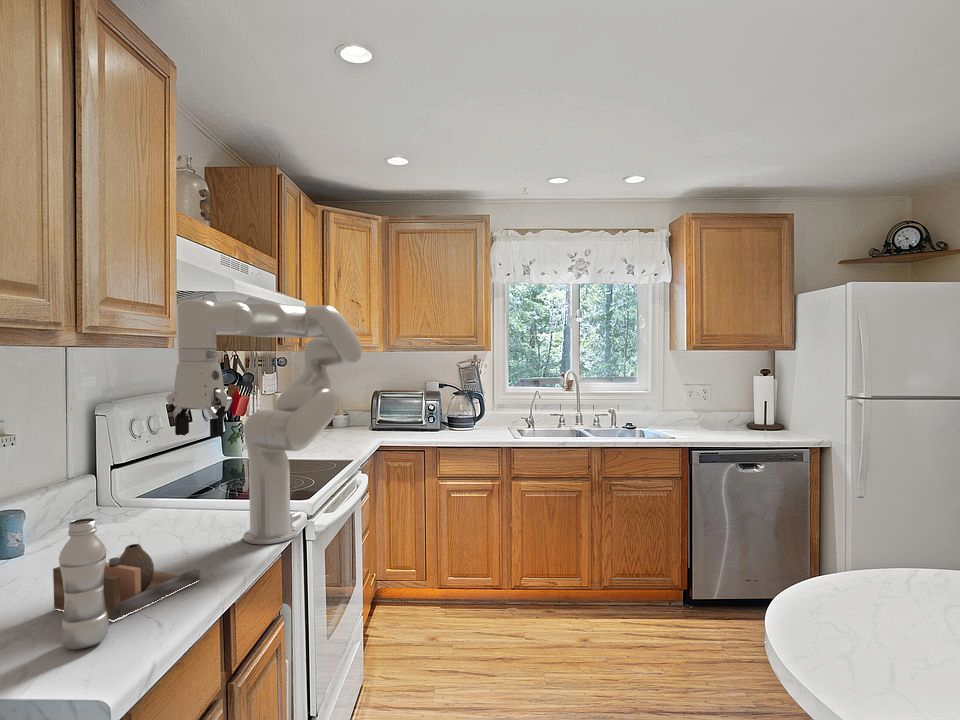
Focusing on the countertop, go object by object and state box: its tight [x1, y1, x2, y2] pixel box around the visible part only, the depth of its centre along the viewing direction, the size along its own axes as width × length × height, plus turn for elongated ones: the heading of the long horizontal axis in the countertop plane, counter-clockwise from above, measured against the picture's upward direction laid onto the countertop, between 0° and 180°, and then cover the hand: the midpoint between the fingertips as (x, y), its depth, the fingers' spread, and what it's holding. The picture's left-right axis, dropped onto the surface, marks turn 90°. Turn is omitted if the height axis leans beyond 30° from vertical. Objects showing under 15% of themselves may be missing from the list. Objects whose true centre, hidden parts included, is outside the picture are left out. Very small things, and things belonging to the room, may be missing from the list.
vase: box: [118, 543, 155, 592], centre depth 116 cm, size 7×7×9 cm
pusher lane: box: [52, 566, 201, 620], centre depth 116 cm, size 19×15×8 cm
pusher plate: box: [104, 556, 141, 602], centre depth 113 cm, size 2×12×8 cm, turn 70°
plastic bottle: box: [58, 517, 110, 650], centre depth 97 cm, size 6×7×20 cm
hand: (199, 435), depth 131 cm, fingers open, 9 cm apart
